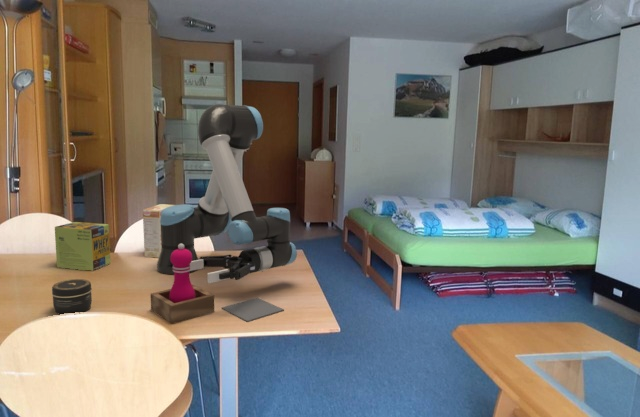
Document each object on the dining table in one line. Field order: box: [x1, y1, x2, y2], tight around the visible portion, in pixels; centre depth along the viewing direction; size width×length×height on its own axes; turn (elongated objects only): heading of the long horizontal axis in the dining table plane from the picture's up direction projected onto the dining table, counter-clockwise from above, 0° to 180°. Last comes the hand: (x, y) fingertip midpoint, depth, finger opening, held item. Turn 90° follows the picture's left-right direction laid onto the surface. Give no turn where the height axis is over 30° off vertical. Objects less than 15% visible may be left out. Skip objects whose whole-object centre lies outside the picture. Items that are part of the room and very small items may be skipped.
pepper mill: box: [169, 243, 195, 303], centre depth 138 cm, size 7×7×20 cm
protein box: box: [54, 221, 112, 272], centre depth 179 cm, size 10×15×16 cm
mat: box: [221, 297, 285, 323], centre depth 142 cm, size 13×13×1 cm
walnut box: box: [150, 284, 215, 325], centre depth 139 cm, size 13×13×5 cm
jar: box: [51, 278, 93, 315], centre depth 138 cm, size 10×10×8 cm
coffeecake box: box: [142, 203, 175, 259], centre depth 200 cm, size 15×7×20 cm, turn 171°
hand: (195, 272), depth 139 cm, fingers open, 13 cm apart
